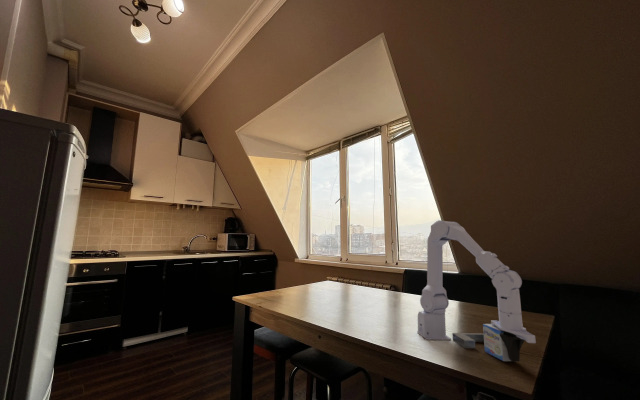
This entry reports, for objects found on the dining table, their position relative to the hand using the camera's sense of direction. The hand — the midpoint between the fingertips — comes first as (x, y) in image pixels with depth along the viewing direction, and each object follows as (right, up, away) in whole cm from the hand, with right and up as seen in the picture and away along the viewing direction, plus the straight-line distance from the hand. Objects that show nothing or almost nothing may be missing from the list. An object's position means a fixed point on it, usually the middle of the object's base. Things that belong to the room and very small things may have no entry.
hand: (514, 360), depth 77 cm
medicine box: (0, -2, +5) cm, 6 cm away
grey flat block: (-1, -4, +15) cm, 15 cm away
